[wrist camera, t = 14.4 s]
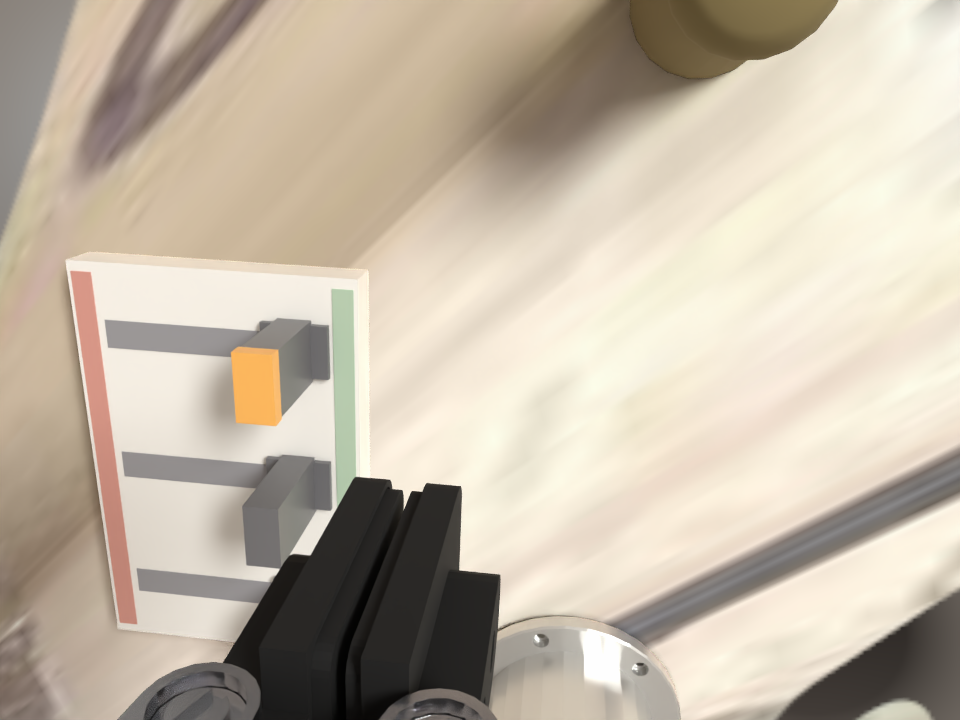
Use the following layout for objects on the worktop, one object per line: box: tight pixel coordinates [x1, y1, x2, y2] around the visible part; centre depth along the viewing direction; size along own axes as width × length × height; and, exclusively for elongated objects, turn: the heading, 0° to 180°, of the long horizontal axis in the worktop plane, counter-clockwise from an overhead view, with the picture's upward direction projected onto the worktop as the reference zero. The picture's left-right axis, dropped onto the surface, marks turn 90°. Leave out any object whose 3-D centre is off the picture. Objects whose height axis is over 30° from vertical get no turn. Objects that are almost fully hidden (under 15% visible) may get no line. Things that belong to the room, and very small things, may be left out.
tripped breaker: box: [231, 318, 330, 426], centre depth 34 cm, size 3×3×5 cm
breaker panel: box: [65, 251, 370, 642], centre depth 40 cm, size 14×21×2 cm, turn 178°
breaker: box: [242, 455, 332, 569], centre depth 36 cm, size 3×3×5 cm
